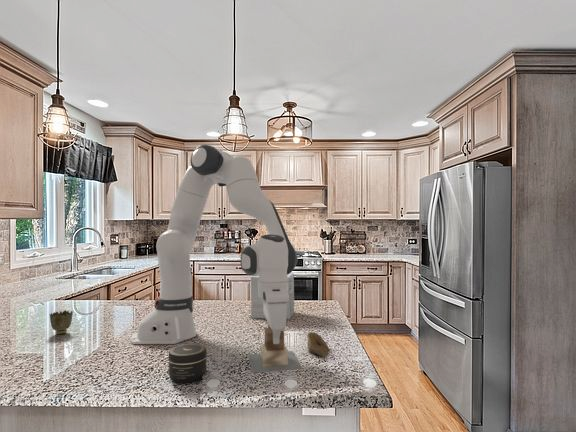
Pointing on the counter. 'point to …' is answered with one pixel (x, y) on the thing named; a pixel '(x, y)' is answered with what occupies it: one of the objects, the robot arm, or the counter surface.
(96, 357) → the counter surface
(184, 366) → the jar
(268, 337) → the walnut cube
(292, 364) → the build plate
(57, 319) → the cup
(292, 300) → the supplement box
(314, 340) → the fossil
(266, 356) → the maple base
